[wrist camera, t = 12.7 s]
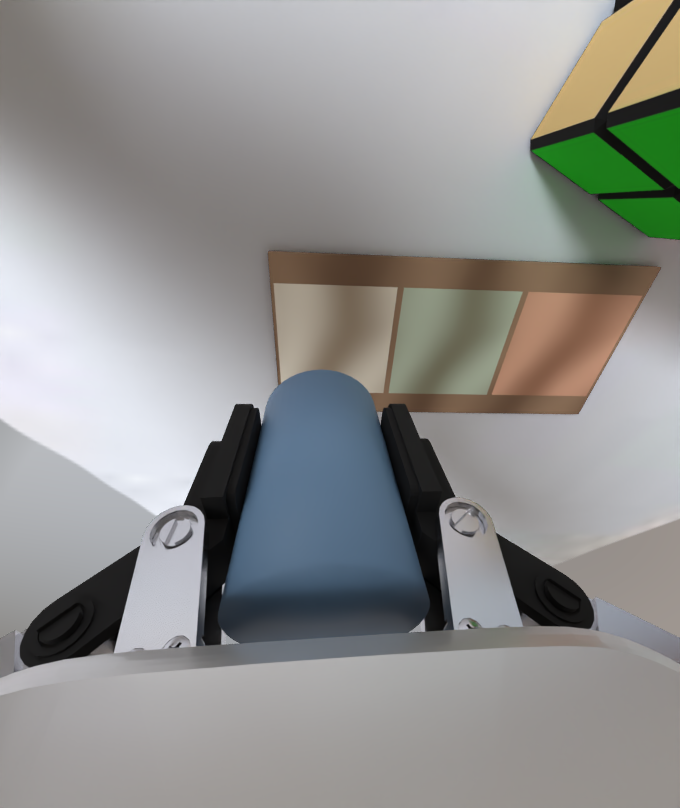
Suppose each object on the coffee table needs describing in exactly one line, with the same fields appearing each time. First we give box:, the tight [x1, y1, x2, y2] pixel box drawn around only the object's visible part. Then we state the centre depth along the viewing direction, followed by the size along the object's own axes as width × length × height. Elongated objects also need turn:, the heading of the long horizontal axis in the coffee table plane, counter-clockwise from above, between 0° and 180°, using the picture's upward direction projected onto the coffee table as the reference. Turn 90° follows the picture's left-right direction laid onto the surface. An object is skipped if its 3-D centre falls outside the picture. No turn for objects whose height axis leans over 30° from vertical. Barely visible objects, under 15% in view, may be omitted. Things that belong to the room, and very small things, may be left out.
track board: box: [268, 251, 661, 414], centre depth 21 cm, size 24×11×1 cm, turn 88°
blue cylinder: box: [218, 370, 430, 644], centre depth 9 cm, size 4×4×7 cm
